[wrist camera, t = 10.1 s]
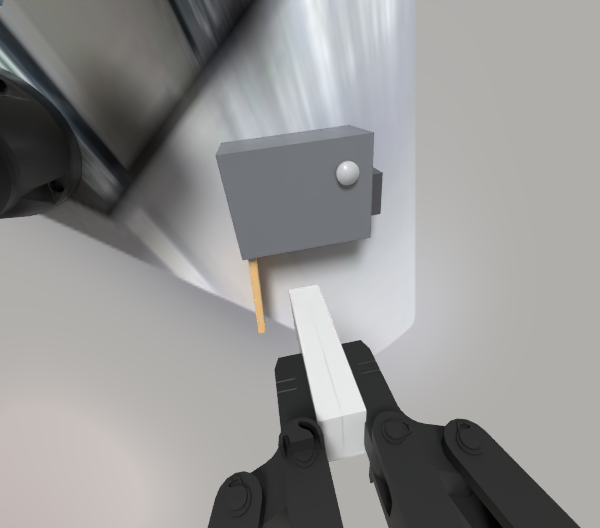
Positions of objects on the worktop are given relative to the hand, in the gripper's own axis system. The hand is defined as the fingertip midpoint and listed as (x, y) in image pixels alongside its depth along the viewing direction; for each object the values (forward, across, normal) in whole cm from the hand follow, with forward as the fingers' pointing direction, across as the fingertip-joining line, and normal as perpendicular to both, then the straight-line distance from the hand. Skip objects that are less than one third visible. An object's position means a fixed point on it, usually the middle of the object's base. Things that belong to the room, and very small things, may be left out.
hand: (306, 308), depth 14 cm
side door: (+26, -5, -14) cm, 30 cm away
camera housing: (+26, +3, -1) cm, 27 cm away
